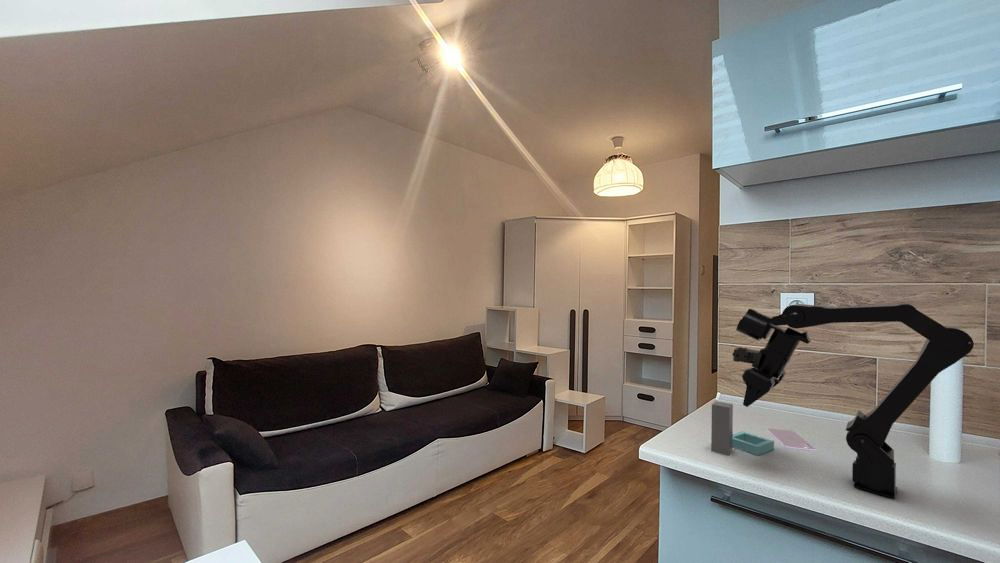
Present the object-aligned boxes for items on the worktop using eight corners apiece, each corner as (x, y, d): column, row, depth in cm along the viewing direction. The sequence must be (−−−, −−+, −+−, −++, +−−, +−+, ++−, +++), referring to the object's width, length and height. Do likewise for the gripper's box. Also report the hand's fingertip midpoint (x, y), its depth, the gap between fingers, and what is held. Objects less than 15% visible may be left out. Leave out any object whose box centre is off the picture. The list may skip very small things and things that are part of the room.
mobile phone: (793, 430, 124) (818, 449, 109) (793, 433, 124) (818, 453, 109) (765, 427, 126) (785, 446, 111) (765, 430, 126) (785, 449, 111)
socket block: (774, 449, 111) (774, 441, 111) (757, 455, 106) (757, 447, 106) (742, 438, 118) (742, 431, 118) (725, 444, 113) (725, 436, 113)
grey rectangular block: (732, 450, 109) (732, 404, 109) (729, 455, 106) (729, 407, 106) (715, 446, 112) (715, 401, 112) (711, 451, 109) (711, 404, 109)
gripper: (753, 331, 114) (728, 379, 118) (735, 337, 100) (707, 390, 105) (798, 352, 107) (769, 402, 111) (785, 361, 93) (753, 417, 97)
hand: (749, 402), depth 106 cm, fingers open, 9 cm apart
